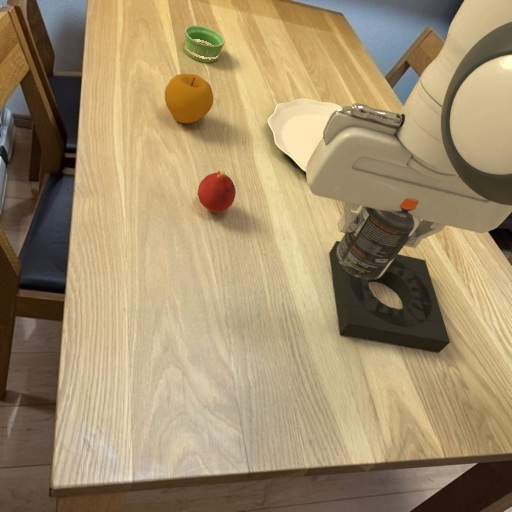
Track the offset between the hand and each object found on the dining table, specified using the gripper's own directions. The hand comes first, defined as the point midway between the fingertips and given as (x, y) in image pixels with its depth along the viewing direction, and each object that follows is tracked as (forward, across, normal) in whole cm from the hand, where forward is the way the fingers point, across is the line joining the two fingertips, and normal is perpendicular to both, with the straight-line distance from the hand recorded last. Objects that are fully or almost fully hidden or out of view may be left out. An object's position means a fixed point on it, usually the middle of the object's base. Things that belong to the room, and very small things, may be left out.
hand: (376, 236), depth 52 cm
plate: (+21, +10, +48) cm, 53 cm away
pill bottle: (+4, 0, 0) cm, 4 cm away
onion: (+21, -15, +22) cm, 34 cm away
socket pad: (+21, +13, +10) cm, 27 cm away
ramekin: (+21, -20, +73) cm, 79 cm away
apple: (+21, -21, +45) cm, 54 cm away
